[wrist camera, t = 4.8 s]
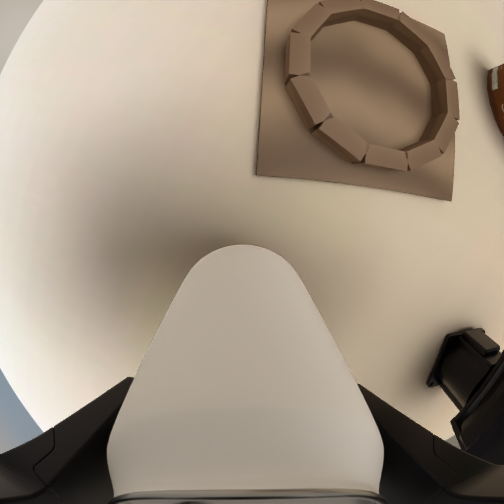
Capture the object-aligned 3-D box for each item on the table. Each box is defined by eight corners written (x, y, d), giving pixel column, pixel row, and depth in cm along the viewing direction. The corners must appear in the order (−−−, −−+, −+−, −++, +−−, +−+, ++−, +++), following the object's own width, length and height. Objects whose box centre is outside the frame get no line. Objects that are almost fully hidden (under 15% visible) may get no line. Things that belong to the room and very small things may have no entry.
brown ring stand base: (443, 199, 18) (467, 204, 16) (256, 175, 18) (259, 174, 15) (438, 37, 15) (457, 27, 12) (268, -10, 14) (271, -33, 11)
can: (246, 370, 16) (255, 567, 4) (158, 304, 15) (54, 504, 3) (327, 296, 15) (447, 491, 3) (237, 214, 14) (216, 414, 2)
